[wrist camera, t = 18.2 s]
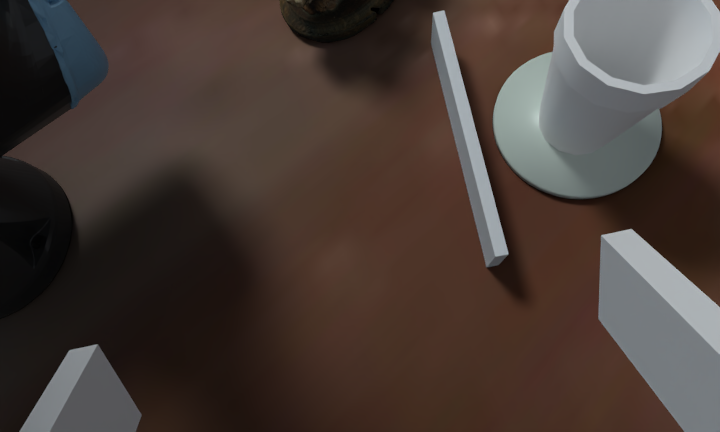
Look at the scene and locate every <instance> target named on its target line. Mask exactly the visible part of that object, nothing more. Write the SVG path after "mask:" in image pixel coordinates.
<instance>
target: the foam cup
mask: <svg viewBox="0 0 720 432" xmlns="http://www.w3.org/2000/svg"><path fill="white" fill-rule="evenodd" d="M719 52H720V12H719V10H718V9H717V7H716V6H715V4H714V3H713V1H712V0H569V2H568V3H567V5H566V7H565V8H564V10H563V13H562V15H561V17H560V19H559V22H558V24H557V26H556V29H555V31H554V48H553V52H552V57H551V61H550V65H549V70H548V74H547V78H546V83H545V87H544V91H543V96H542V100H541V104H540V111H539V128H540V130H541V132H542V134H543V136H544V138H545V140H546V141H547V142H548V143H550V144H551V145H552V146H553V147H555V148H556V149H557V150H558V151H562V152H565V153H569V154H573V155H581V154H588V153H593V152H595V151H596V150H598V149H599V148H601V147H602V146H604V145H606V144H607V143H609V142H610V141H612V140H613V139H615V138H616V137H617V136H619V135H620V134H622V133H623V132H625V131H626V130H628V129H629V128H630V127H632V126H633V125H635V124H636V123H638V122H639V121H641V120H642V119H643V118H645V117H646V116H648V115H649V114H651V113H652V112H654V111H655V110H656V109H659V108H663V107H664V106H666V105H667V104H669V103H671V102H672V101H674V100H675V99H677V98H678V97H680V96H681V95H683V94H685V93H686V92H688V91H689V90H690V89H691V88H692V87H693V86H694V85H695V84H696V83H697V82H698V81H699V80H700V79H701V78H702V77H703V76H705V75H706V74H707V73H708V72H709V71H710V69H711V67H712V65H713V63H714V61H715V59H716V57H717V55H718V53H719Z"/></svg>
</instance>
